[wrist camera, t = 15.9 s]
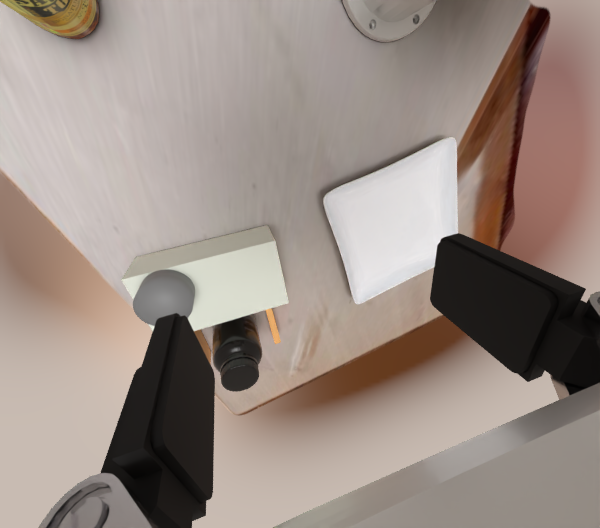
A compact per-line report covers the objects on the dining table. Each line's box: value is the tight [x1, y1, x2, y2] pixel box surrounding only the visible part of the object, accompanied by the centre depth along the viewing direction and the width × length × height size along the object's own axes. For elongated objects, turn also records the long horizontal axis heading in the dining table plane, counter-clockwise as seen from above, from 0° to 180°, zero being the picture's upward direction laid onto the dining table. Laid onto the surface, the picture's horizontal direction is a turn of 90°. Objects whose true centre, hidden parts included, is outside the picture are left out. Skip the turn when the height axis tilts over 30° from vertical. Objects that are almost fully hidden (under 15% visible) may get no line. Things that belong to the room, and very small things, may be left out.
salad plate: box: [323, 137, 458, 304], centre depth 42 cm, size 21×21×3 cm
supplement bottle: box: [213, 314, 262, 391], centre depth 38 cm, size 7×7×12 cm
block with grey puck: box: [121, 225, 289, 363], centre depth 37 cm, size 18×20×9 cm
